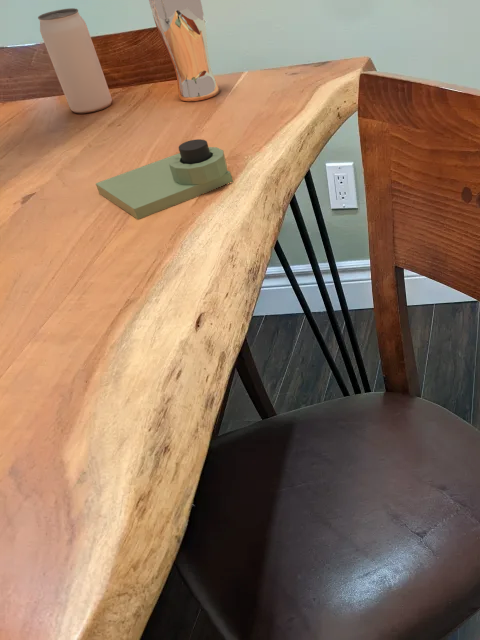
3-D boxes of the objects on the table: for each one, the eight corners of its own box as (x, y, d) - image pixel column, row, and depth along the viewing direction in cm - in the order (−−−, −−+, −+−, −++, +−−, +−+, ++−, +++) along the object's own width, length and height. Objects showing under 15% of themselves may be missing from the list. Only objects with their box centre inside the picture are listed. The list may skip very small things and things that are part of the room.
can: (77, 117, 103) (40, 21, 94) (66, 108, 107) (30, 15, 98) (118, 105, 105) (86, 11, 96) (106, 97, 109) (74, 5, 100)
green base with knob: (140, 221, 74) (129, 193, 72) (99, 193, 81) (88, 167, 79) (239, 182, 79) (233, 154, 77) (193, 159, 86) (185, 133, 83)
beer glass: (208, 102, 101) (176, -24, 90) (168, 103, 103) (131, -21, 92) (230, 87, 105) (201, -36, 95) (191, 87, 108) (158, -33, 97)
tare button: (191, 169, 76) (186, 152, 75) (178, 162, 78) (173, 146, 77) (216, 159, 77) (212, 143, 76) (203, 153, 79) (198, 137, 78)
